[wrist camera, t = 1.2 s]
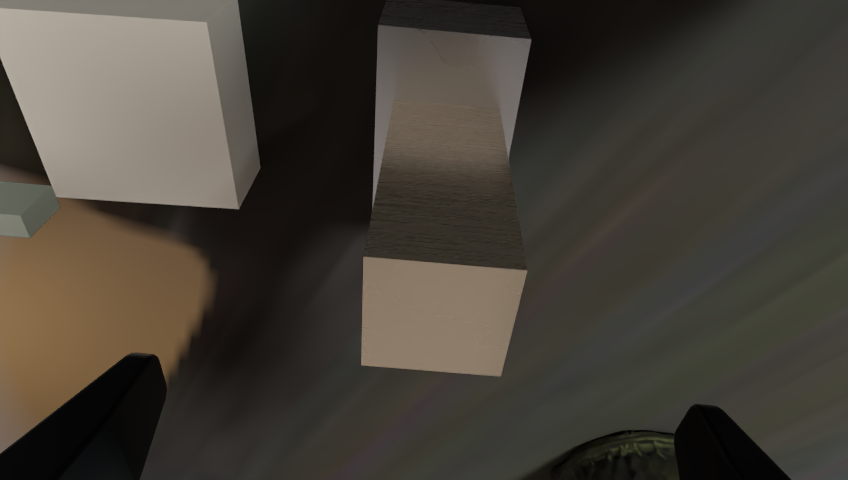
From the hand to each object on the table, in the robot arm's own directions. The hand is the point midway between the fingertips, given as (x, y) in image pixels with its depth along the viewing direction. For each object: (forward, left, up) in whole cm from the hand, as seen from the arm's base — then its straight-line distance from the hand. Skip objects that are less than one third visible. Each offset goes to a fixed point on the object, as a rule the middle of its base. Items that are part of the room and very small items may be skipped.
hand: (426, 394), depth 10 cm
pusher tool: (0, 0, -12) cm, 12 cm away
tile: (+9, 0, -12) cm, 15 cm away
